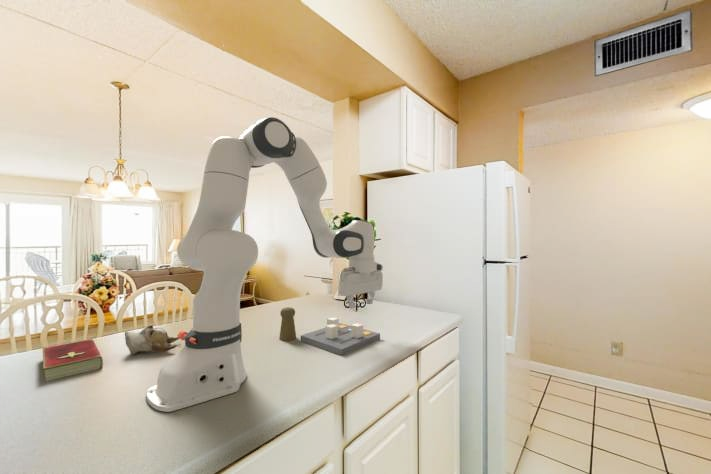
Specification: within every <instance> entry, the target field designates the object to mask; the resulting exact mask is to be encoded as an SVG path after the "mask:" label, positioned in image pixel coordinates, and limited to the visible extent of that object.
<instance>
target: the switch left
mask: <svg viewBox="0 0 711 474" xmlns="http://www.w3.org/2000/svg"><path fill="white" fill-rule="evenodd" d="M330 324H333V325H337V326H338V324H339V318H338V317H329V318H327V319H326V326H327V325H330Z"/></svg>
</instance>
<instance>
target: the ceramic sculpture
mask: <svg viewBox="0 0 711 474" xmlns="http://www.w3.org/2000/svg"><path fill="white" fill-rule="evenodd" d="M124 340H125V346H127V349H128V350H129V353H130V355H135V354H137V353H138V352H148V353H155V352H159V353H163V352H167V351H170V350H172V349H175V348H176V345H172V343H175V342H176V341H178V340H180V339H179V338H178V336H177V337H176V336H175V337H173V336H169V335H168V332H167V331H166V330H165V329H163V328H154V326H153V325H149V326H146V327H145V328H143V329H142V330H141V331H140V332H135V331H127V330H126V331H125V332H124Z"/></svg>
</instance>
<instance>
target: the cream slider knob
mask: <svg viewBox="0 0 711 474" xmlns="http://www.w3.org/2000/svg"><path fill="white" fill-rule="evenodd" d="M350 326H351V337H354V338H360V337H363V329H364V324H361V323H357V322H356V323H353V324H350Z"/></svg>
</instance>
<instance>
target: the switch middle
mask: <svg viewBox="0 0 711 474" xmlns="http://www.w3.org/2000/svg"><path fill="white" fill-rule="evenodd" d="M324 328H325V338H329V339H334V338H337V337H338V326H337V325H333V324H330V325H327V324H326V325H325V327H324Z"/></svg>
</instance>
